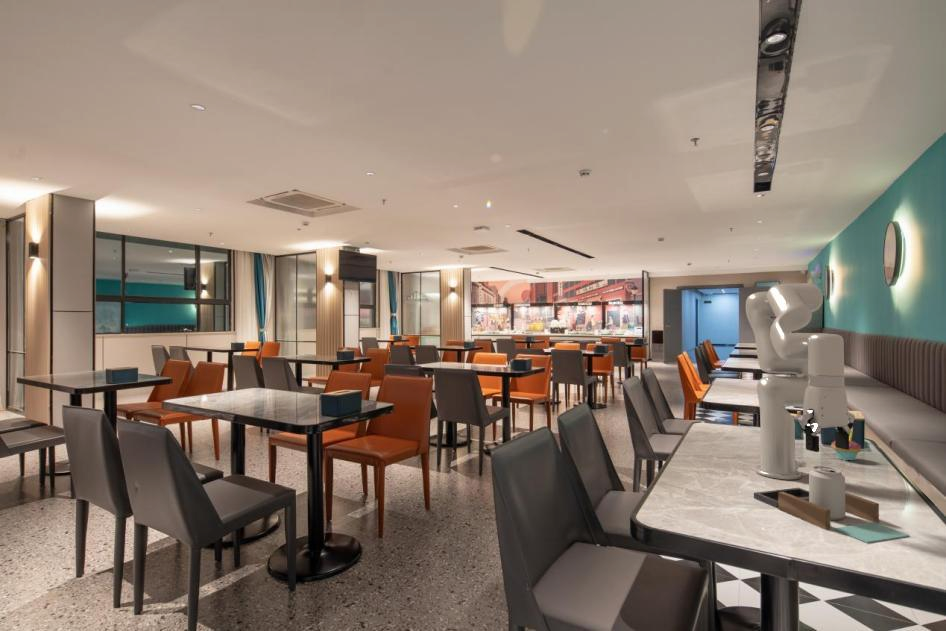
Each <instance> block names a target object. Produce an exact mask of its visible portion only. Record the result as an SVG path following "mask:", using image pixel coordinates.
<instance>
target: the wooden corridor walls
mask: <svg viewBox="0 0 946 631" xmlns="http://www.w3.org/2000/svg"><path fill="white" fill-rule="evenodd" d="M778 510H779V511H781V512H784V513H786V514H788V515H791V516H793V517H796V518H798V519H799V520H802V521H805V522H807V523H809V524H812V525H814V526H816V527H819V528H821V529H824V530H826V531H827V530H831V520H830V510H829V509H826V508H824V507H821V506H819V505H816V504H813V503H811V502H808V501H806V500H803V499H800V498H798V497H795V496H793V495H790V494H787V493H785V492H778ZM845 513H847V514H850V515H853V516H856V517H858V518H862V519H864V520H866V521H870V522H871V523H874V522H876V523H879V522H880V505H879V503H878V502H875V501H872V500H869V499H866V498H863V497H860V496H857V495H855V494H852V493H848V492H846V491H845Z"/></svg>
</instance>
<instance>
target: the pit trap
mask: <svg viewBox="0 0 946 631" xmlns="http://www.w3.org/2000/svg"><path fill="white" fill-rule="evenodd" d="M778 492H785V493H787V494H790V495H793V496H795V497H798V498H800V499H803V500H806V501H808V502H809V490H807V489H804V488H801V487H794V488H793V487H792V488H784V489H782V488H781V489H776V490H767V491H765V490H764V491H757V492H753V499H754V500H757V501H760V502H762V503H765V504H767V505H770V506H772V507H774V508H776V509H777V508H778Z"/></svg>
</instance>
